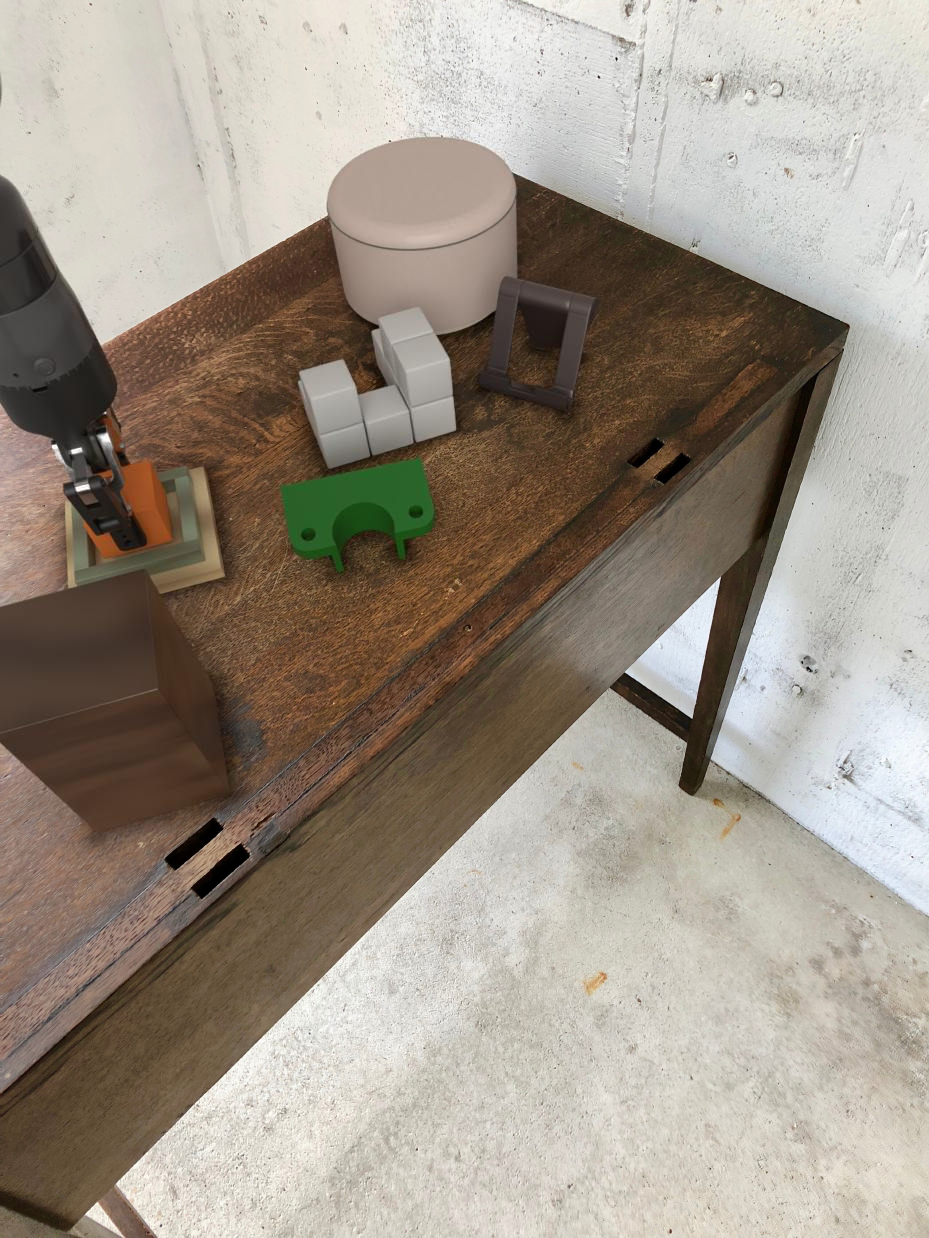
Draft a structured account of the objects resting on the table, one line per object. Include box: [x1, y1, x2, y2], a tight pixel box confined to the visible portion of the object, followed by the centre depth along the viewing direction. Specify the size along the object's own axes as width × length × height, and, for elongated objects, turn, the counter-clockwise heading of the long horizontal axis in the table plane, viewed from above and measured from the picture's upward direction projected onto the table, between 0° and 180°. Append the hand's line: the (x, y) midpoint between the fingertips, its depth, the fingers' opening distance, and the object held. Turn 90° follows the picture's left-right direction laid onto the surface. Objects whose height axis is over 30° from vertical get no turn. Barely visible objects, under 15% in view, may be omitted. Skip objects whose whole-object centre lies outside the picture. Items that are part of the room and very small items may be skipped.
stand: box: [0, 569, 231, 834], centre depth 56 cm, size 9×9×14 cm
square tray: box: [64, 465, 226, 595], centre depth 72 cm, size 12×12×3 cm
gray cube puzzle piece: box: [297, 307, 457, 470], centre depth 78 cm, size 12×12×8 cm
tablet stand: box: [478, 276, 599, 413], centre depth 78 cm, size 9×8×8 cm
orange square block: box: [83, 459, 173, 559], centre depth 70 cm, size 6×6×4 cm
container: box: [326, 136, 518, 336], centre depth 86 cm, size 18×18×12 cm
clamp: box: [279, 457, 436, 573], centre depth 69 cm, size 12×6×9 cm, turn 97°
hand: (131, 518), depth 71 cm, fingers closed on orange square block, 5 cm apart
